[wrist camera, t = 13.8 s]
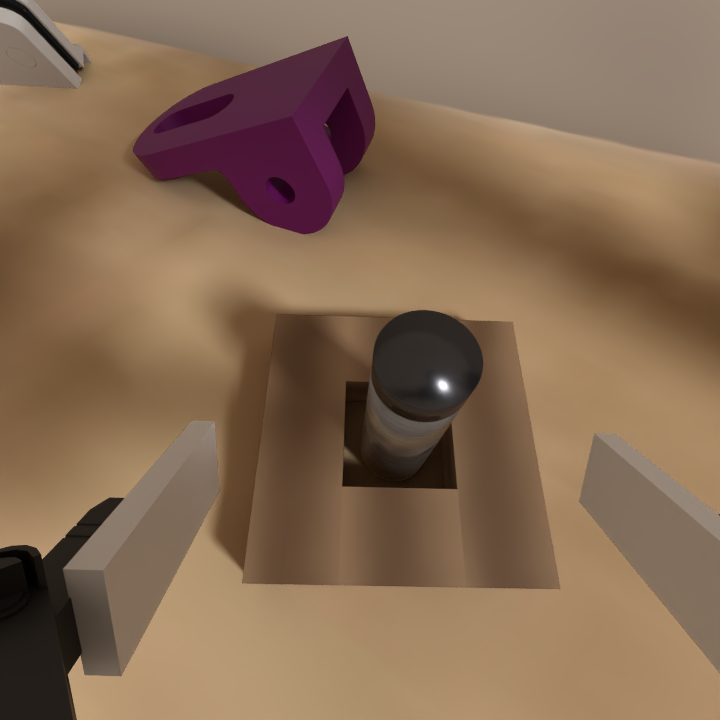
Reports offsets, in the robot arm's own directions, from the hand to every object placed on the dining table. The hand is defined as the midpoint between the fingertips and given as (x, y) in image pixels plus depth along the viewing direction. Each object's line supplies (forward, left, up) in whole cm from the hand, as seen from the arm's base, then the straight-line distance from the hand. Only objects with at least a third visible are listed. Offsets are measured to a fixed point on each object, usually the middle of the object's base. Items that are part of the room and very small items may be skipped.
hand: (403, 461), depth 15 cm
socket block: (-1, -4, -11) cm, 11 cm away
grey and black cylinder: (-1, -4, -11) cm, 11 cm away
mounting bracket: (+11, -28, -11) cm, 32 cm away
